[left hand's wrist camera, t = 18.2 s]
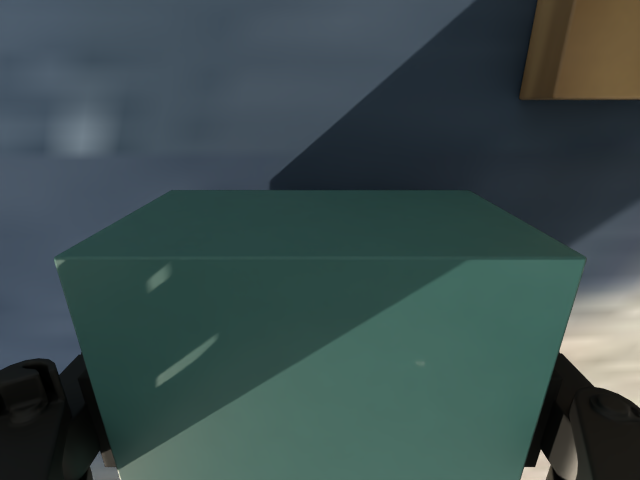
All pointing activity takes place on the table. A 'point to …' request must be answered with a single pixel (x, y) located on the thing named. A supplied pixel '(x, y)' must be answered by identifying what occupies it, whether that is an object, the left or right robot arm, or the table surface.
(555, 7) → the wooden block stand
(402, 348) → the teal green squarish block
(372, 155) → the table surface
